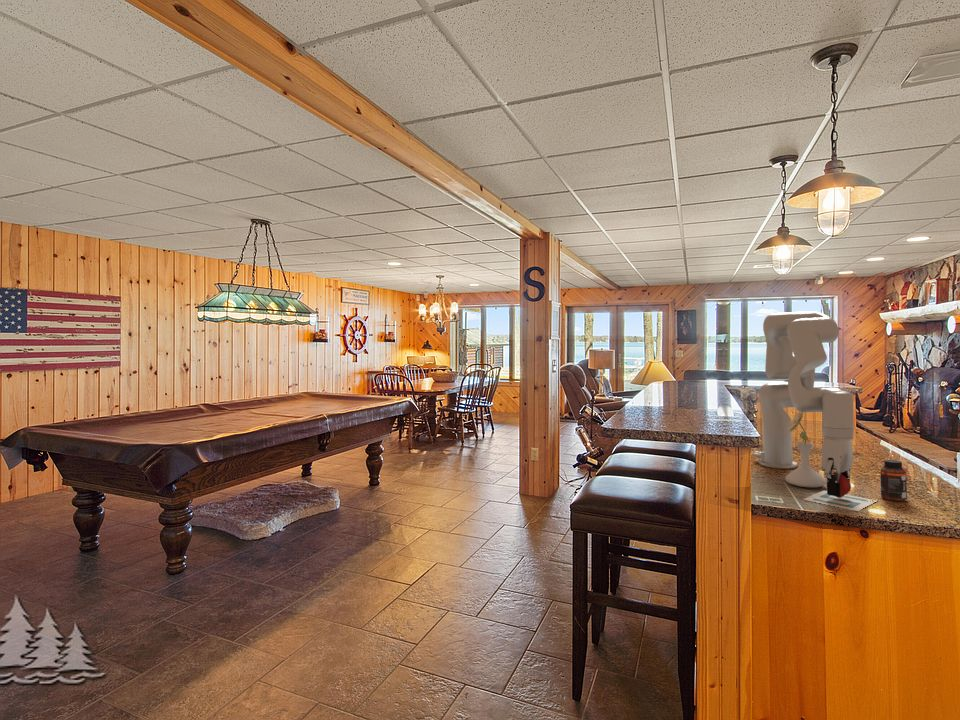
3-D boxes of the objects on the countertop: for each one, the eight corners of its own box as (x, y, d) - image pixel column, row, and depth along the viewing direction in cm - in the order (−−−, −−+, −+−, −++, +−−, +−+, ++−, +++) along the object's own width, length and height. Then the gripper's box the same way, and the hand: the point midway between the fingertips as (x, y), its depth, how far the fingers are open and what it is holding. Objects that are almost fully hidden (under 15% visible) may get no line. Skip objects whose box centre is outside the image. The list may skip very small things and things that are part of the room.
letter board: (802, 499, 149) (802, 499, 149) (823, 491, 157) (823, 490, 157) (858, 511, 138) (858, 510, 138) (877, 501, 145) (877, 500, 145)
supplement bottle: (912, 502, 144) (911, 463, 143) (888, 501, 145) (887, 463, 145) (899, 496, 149) (898, 458, 149) (876, 495, 151) (875, 458, 150)
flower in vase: (790, 479, 172) (788, 406, 171) (830, 484, 164) (828, 408, 163) (779, 487, 163) (777, 411, 162) (821, 493, 154) (819, 413, 154)
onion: (822, 495, 151) (821, 469, 150) (839, 494, 151) (839, 467, 151) (837, 501, 145) (837, 474, 144) (856, 500, 145) (855, 472, 145)
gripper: (835, 427, 155) (836, 484, 156) (810, 435, 145) (811, 496, 146) (864, 430, 149) (865, 490, 149) (840, 438, 139) (840, 502, 140)
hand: (838, 492), depth 148 cm, fingers closed on onion, 5 cm apart
